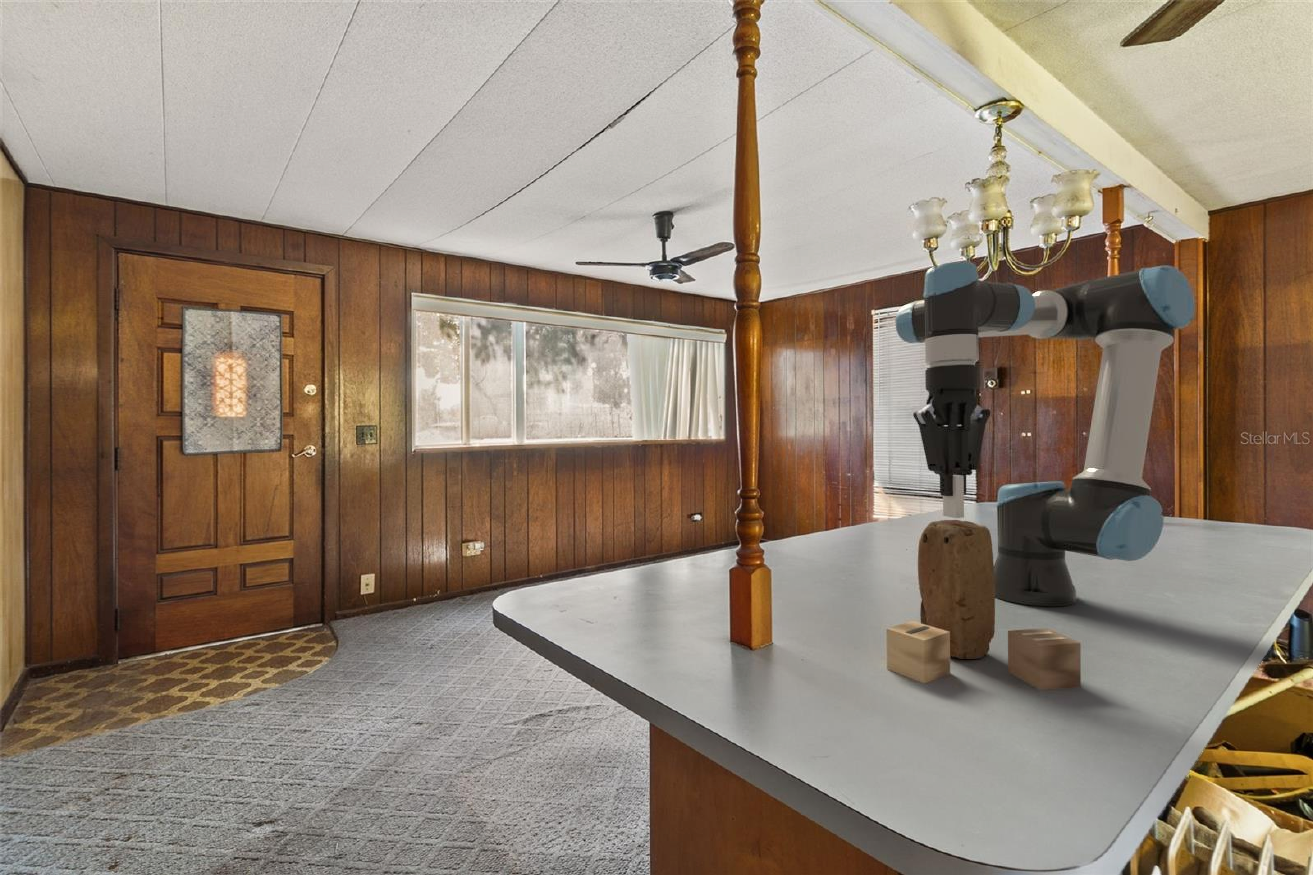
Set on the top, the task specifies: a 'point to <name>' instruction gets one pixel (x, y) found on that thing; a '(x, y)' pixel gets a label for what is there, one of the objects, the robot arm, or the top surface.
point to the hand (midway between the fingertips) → (953, 516)
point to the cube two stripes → (1044, 658)
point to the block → (958, 584)
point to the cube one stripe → (918, 651)
